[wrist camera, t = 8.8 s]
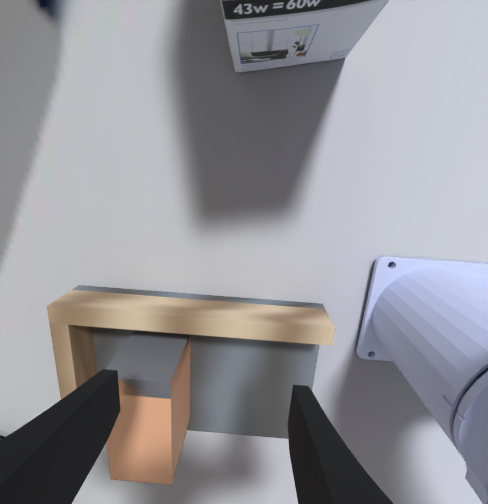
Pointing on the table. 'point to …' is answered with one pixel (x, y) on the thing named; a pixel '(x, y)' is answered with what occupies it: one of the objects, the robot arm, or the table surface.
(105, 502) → the table surface
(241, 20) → the light bulb box
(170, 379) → the terracotta bar
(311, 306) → the corner arena
